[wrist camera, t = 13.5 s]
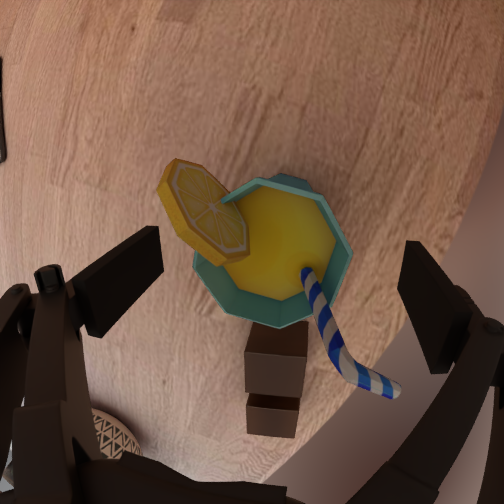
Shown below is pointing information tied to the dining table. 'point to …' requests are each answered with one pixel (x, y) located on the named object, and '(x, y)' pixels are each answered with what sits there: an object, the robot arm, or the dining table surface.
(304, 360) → the walnut block near
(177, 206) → the cup
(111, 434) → the planter
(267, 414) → the walnut block far
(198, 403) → the dining table surface
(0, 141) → the cell phone
